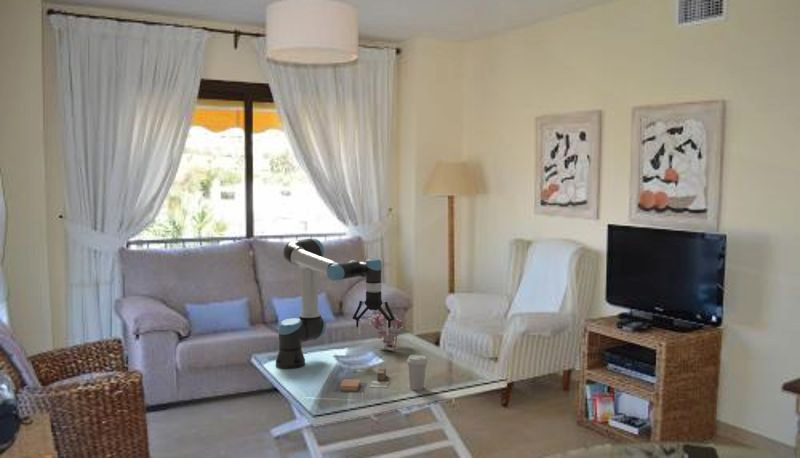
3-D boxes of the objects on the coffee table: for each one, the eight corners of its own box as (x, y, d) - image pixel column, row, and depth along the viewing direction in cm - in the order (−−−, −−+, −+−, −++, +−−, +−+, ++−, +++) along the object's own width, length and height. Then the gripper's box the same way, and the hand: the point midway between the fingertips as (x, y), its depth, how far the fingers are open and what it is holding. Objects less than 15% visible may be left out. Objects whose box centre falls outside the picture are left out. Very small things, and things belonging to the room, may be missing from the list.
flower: (421, 345, 382) (407, 303, 387) (400, 350, 362) (385, 306, 368) (393, 355, 391) (380, 314, 397) (371, 361, 372) (358, 318, 377)
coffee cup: (409, 392, 310) (409, 360, 309) (404, 385, 319) (405, 354, 318) (429, 391, 312) (429, 359, 310) (424, 384, 321) (424, 353, 320)
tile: (343, 379, 319) (340, 385, 310) (360, 379, 318) (357, 386, 309) (343, 383, 319) (340, 390, 310) (360, 384, 318) (357, 391, 309)
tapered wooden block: (374, 376, 332) (374, 366, 332) (390, 376, 332) (391, 367, 331) (369, 388, 315) (370, 378, 314) (386, 389, 314) (386, 379, 313)
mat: (338, 382, 322) (338, 381, 322) (367, 383, 321) (367, 382, 321) (333, 392, 309) (333, 391, 309) (363, 393, 308) (363, 392, 308)
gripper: (346, 291, 320) (346, 335, 323) (398, 293, 318) (398, 336, 320) (349, 288, 328) (349, 331, 330) (400, 290, 325) (399, 332, 328)
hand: (373, 334), depth 325 cm, fingers open, 13 cm apart
